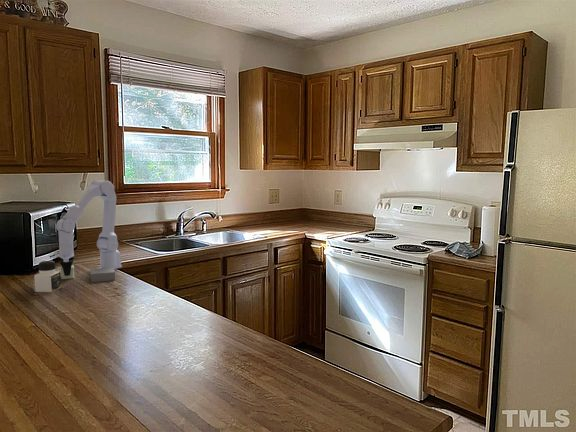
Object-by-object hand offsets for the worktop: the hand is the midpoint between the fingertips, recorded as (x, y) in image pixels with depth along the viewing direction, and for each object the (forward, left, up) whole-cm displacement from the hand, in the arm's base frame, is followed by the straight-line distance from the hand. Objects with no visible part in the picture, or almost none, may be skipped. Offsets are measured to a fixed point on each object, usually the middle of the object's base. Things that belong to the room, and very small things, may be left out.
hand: (67, 274), depth 203 cm
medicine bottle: (+18, +9, -2) cm, 20 cm away
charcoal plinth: (-5, +16, -2) cm, 17 cm away
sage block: (0, 0, -1) cm, 1 cm away
